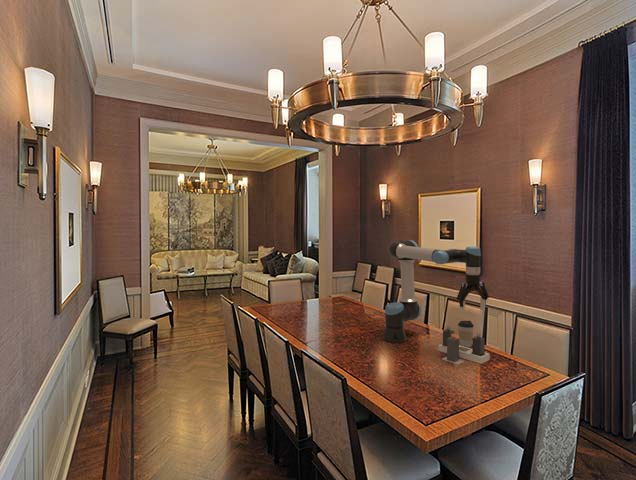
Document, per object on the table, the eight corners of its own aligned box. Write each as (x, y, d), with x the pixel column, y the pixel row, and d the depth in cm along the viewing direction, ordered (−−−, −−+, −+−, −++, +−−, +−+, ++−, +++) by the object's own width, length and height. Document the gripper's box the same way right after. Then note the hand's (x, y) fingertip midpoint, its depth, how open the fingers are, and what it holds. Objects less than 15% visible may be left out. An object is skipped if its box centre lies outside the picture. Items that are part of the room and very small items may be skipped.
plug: (447, 359, 194) (447, 334, 193) (451, 357, 196) (451, 332, 196) (454, 362, 190) (454, 336, 189) (458, 360, 193) (459, 334, 192)
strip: (438, 351, 207) (438, 326, 206) (446, 348, 213) (446, 323, 212) (481, 365, 187) (481, 337, 186) (489, 360, 193) (489, 333, 192)
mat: (441, 359, 195) (441, 359, 195) (448, 356, 199) (448, 355, 199) (458, 365, 187) (458, 364, 187) (464, 361, 192) (464, 361, 192)
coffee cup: (464, 348, 212) (464, 324, 211) (454, 343, 220) (454, 320, 220) (476, 347, 214) (477, 322, 214) (466, 342, 223) (467, 318, 222)
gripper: (458, 276, 190) (458, 315, 191) (496, 273, 197) (495, 311, 198) (449, 274, 197) (449, 311, 198) (486, 272, 204) (485, 308, 205)
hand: (472, 311), depth 198 cm, fingers open, 13 cm apart
